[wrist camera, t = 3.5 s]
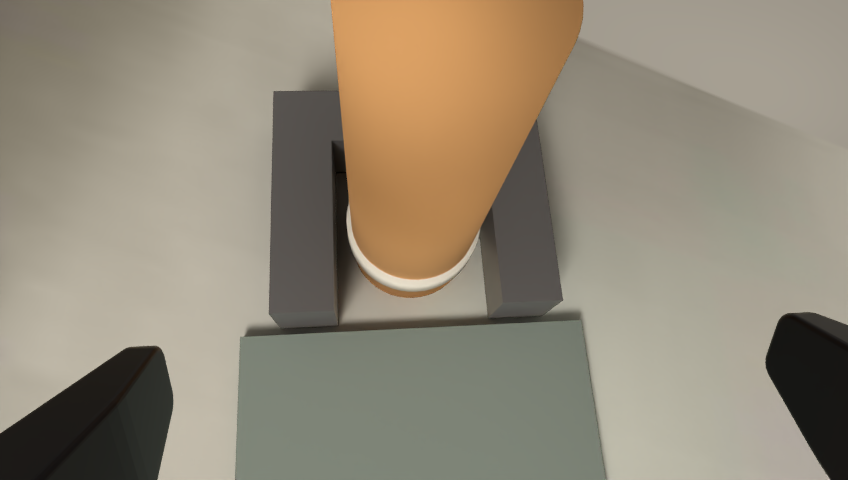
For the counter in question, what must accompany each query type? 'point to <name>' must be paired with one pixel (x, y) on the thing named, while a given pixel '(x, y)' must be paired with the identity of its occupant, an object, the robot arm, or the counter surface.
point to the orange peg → (437, 122)
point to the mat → (419, 405)
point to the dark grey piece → (317, 229)
